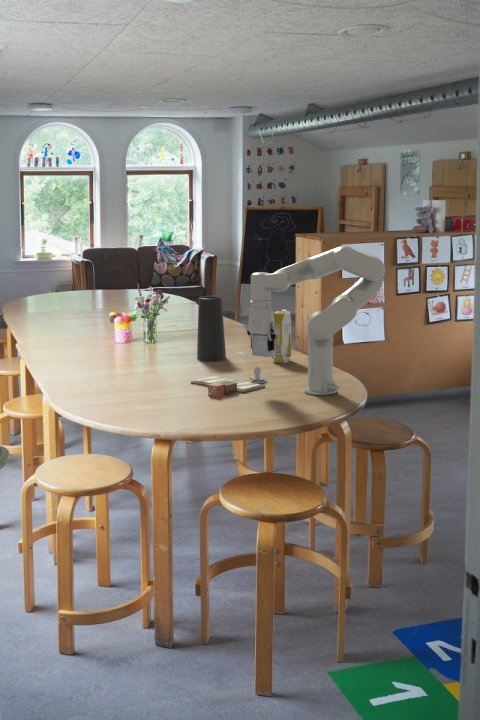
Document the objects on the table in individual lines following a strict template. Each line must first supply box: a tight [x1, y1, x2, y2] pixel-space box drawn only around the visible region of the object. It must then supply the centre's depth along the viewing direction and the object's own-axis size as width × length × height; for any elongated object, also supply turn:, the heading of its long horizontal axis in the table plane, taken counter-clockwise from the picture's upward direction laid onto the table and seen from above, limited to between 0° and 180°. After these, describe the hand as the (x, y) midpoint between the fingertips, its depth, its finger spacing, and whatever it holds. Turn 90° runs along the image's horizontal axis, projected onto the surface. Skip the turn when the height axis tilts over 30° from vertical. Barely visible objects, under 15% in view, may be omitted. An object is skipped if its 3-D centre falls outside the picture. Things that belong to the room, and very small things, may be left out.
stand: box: [219, 381, 238, 396], centre depth 346 cm, size 6×6×4 cm
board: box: [190, 375, 266, 395], centre depth 359 cm, size 29×13×1 cm, turn 48°
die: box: [207, 383, 226, 398], centre depth 343 cm, size 4×4×5 cm
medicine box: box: [251, 334, 274, 358], centre depth 344 cm, size 8×4×9 cm, turn 49°
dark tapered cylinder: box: [196, 295, 227, 362], centre depth 413 cm, size 14×14×29 cm
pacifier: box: [248, 366, 267, 384], centre depth 364 cm, size 7×6×6 cm
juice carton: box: [271, 309, 292, 364], centre depth 403 cm, size 9×8×24 cm
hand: (262, 349), depth 344 cm, fingers closed on medicine box, 8 cm apart
